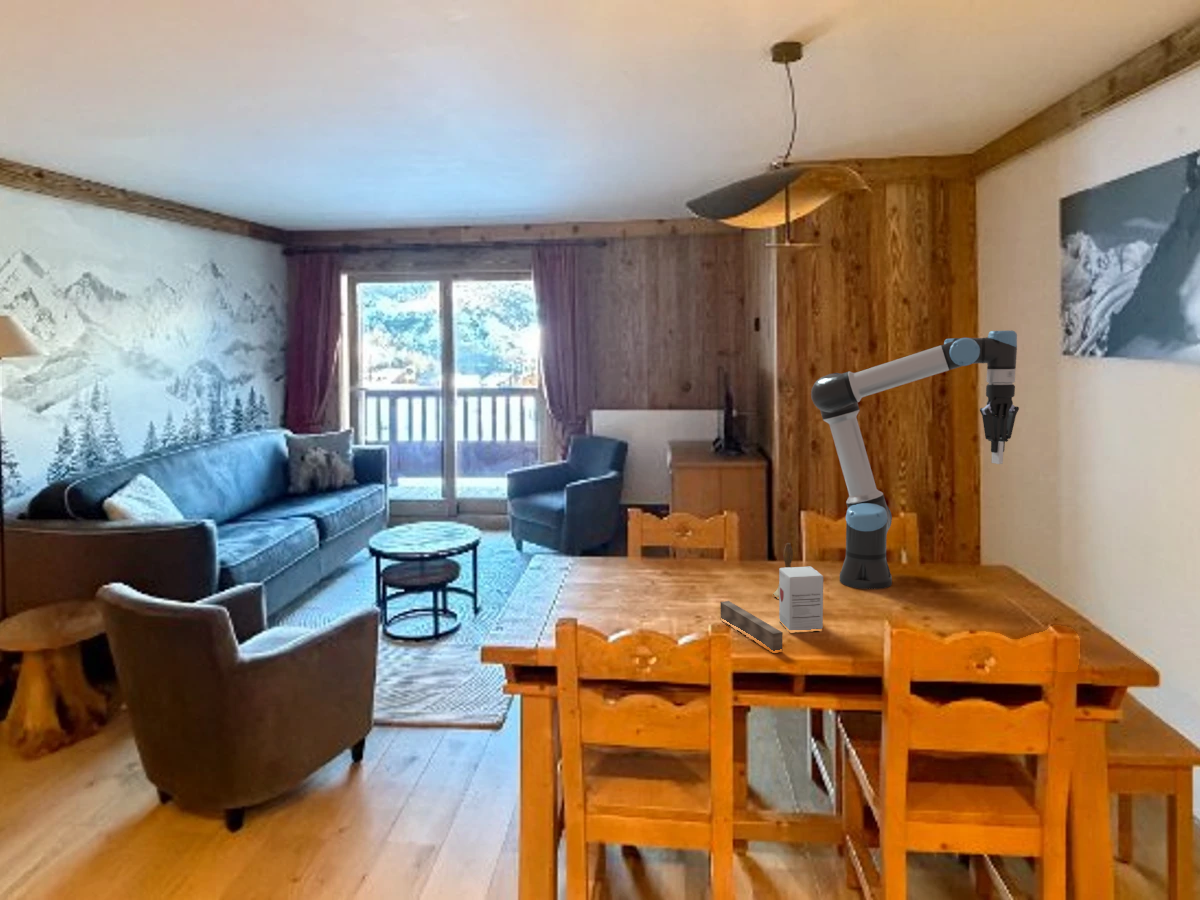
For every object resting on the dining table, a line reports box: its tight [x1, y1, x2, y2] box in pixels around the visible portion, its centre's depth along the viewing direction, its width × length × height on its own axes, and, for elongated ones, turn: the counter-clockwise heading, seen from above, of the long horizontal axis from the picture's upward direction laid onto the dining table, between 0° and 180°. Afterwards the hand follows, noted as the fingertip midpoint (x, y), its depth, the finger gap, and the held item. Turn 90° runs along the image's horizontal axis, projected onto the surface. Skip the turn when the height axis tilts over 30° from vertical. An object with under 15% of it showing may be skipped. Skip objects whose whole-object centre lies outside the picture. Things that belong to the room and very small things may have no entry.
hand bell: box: [773, 542, 794, 597], centre depth 231 cm, size 8×8×16 cm
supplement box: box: [778, 565, 824, 630], centre depth 206 cm, size 9×9×15 cm
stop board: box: [720, 600, 783, 651], centre depth 202 cm, size 26×2×5 cm, turn 20°
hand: (997, 463), depth 237 cm, fingers closed
